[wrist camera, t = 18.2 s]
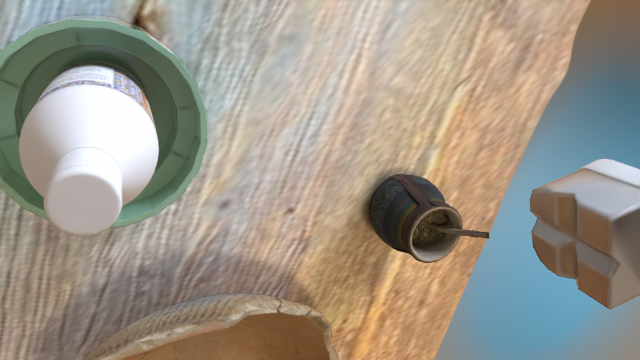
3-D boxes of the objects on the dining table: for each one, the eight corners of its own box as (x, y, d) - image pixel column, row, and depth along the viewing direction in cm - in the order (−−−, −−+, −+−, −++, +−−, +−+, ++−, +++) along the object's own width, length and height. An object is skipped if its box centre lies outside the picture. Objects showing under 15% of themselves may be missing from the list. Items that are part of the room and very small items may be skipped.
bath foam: (140, 156, 40) (158, 285, 23) (41, 142, 38) (-26, 277, 20) (155, 69, 39) (186, 136, 21) (52, 48, 36) (-10, 104, 18)
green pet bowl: (-47, 48, 34) (-77, 58, 29) (158, -8, 37) (165, -8, 32) (48, 223, 40) (38, 259, 35) (218, 162, 43) (232, 186, 38)
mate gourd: (352, 180, 49) (405, 223, 40) (421, 155, 50) (486, 190, 42) (366, 243, 52) (417, 296, 43) (430, 217, 53) (492, 262, 45)
